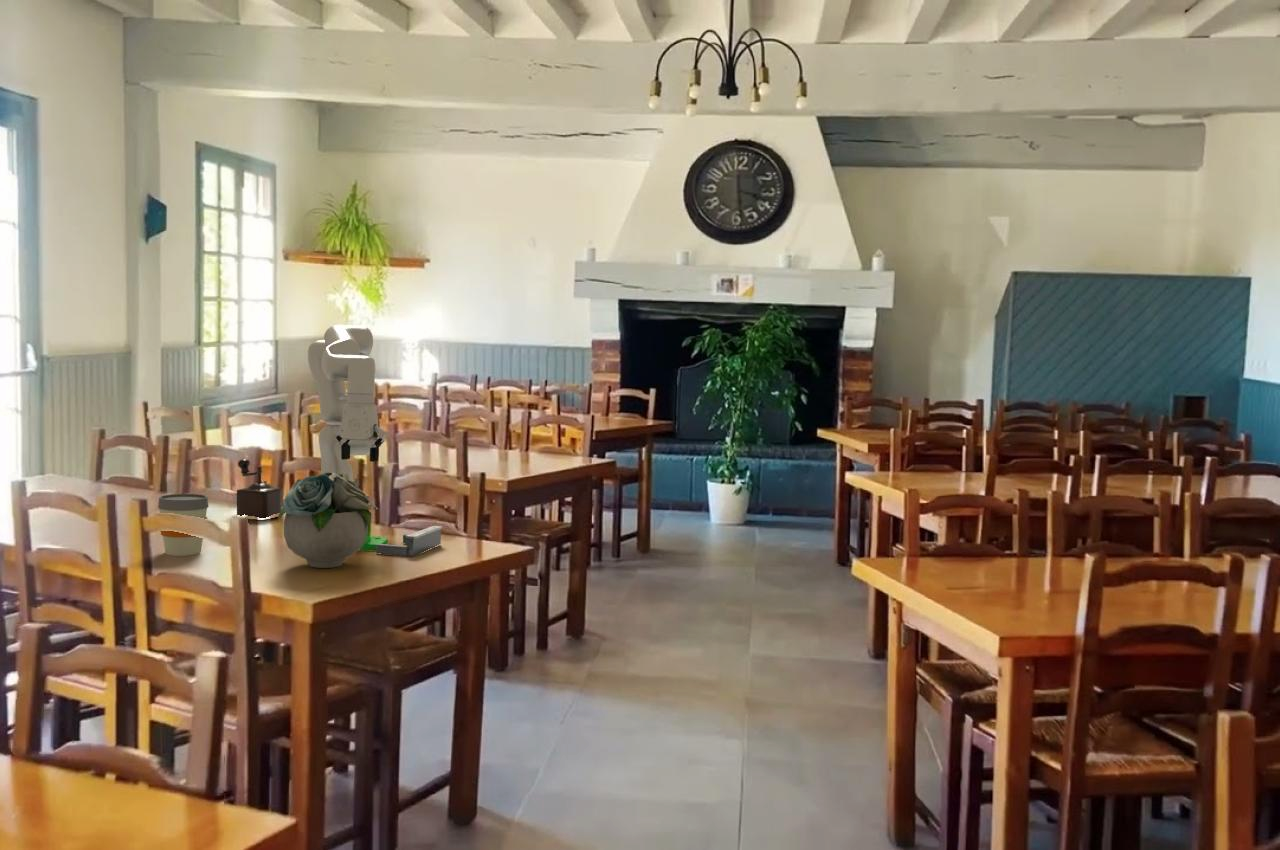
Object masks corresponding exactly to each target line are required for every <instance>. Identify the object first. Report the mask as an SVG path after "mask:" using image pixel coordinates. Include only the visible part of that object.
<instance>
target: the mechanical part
mask: <svg viewBox="0 0 1280 850" xmlns="http://www.w3.org/2000/svg"><path fill="white" fill-rule="evenodd" d="M371 527H372V526H371ZM371 527H370V532H369V529H368V533H367V537H366V540H365V543H364V545H363V546H362V547H361V548H360V550H359V551H365V550H376V545H377V544H388V541H389V539H388V537H384V536H371V533H372V532H371V531H372V530H371V529H372V528H371ZM388 545H389V544H388Z"/></svg>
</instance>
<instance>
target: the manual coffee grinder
mask: <svg viewBox="0 0 1280 850" xmlns="http://www.w3.org/2000/svg"><path fill="white" fill-rule="evenodd" d="M250 464H251V462H250V460H248V459H246V458H242V459H239V460H238V461H237V466H238V468H239V469H240V470H241V471H240V474H241V476H242V477H249V476H256V475H257V482H254V483H252V484H251V485H248V486H247V487H245V488H244V487H243V488H239V489H237V490H236V516H237V515H240V516H242V515H244V514H245V515H248V516H255V517H259V518H266V517H269V516H271V515H273V514H277V513H280V511H281V509H282V504H283V488H282V487H275V486H274V485H270V484H269V483H267V480H265V481H262V473H263V471H262V466H260V465H258V466H257V471H255V472H251V471H250V470H249V467H250V466H251V465H250Z"/></svg>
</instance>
